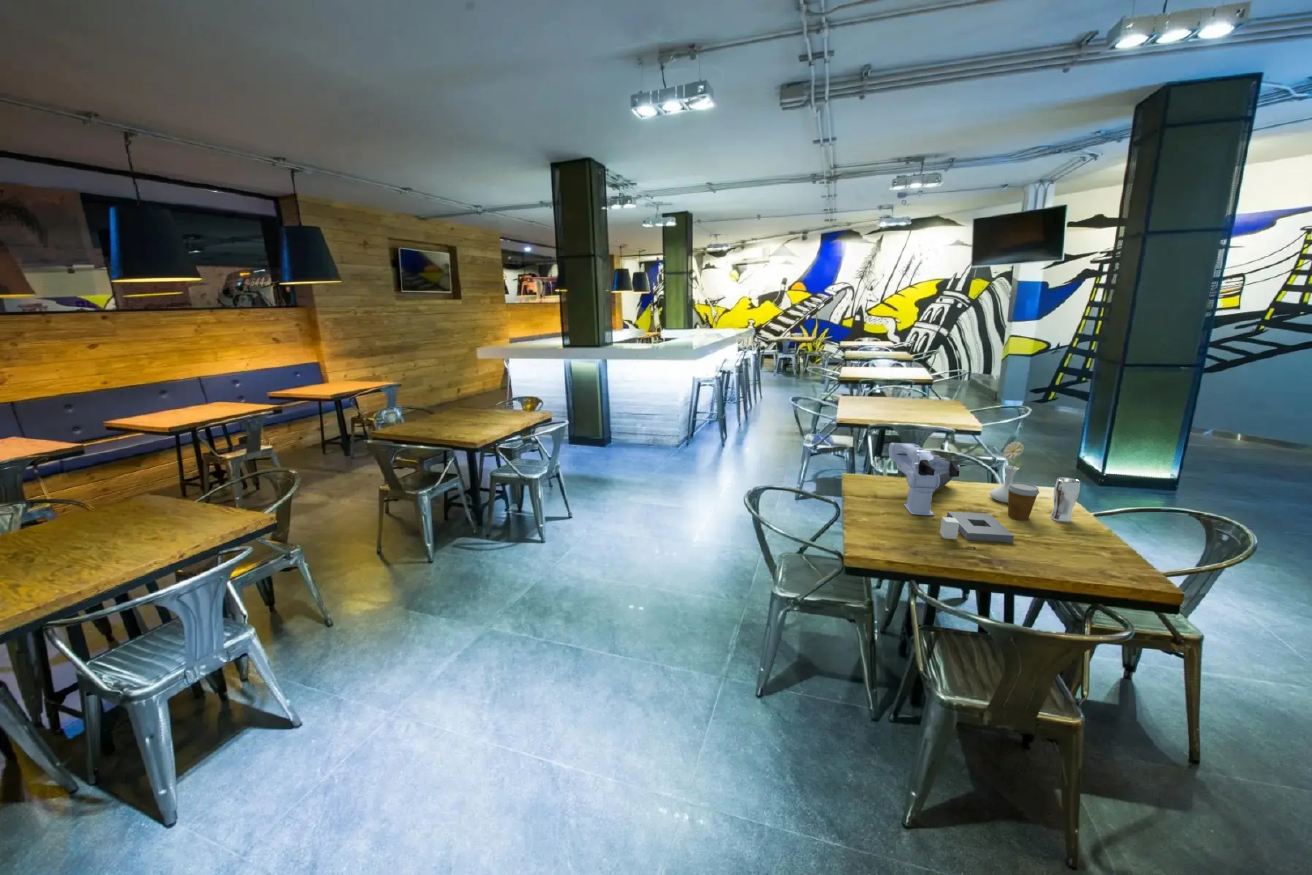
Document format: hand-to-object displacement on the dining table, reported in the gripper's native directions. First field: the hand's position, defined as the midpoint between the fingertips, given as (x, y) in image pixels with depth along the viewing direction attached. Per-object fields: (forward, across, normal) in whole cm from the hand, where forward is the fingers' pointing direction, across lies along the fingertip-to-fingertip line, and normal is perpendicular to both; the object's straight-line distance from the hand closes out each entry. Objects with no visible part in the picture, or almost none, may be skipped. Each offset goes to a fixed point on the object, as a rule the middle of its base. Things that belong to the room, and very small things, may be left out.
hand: (945, 473), depth 171 cm
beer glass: (-21, +48, +20) cm, 56 cm away
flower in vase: (-37, +37, +19) cm, 56 cm away
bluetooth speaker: (-45, +12, +19) cm, 50 cm away
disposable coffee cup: (-21, +34, +20) cm, 45 cm away
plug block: (0, +3, +22) cm, 22 cm away
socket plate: (-7, +15, +21) cm, 27 cm away
